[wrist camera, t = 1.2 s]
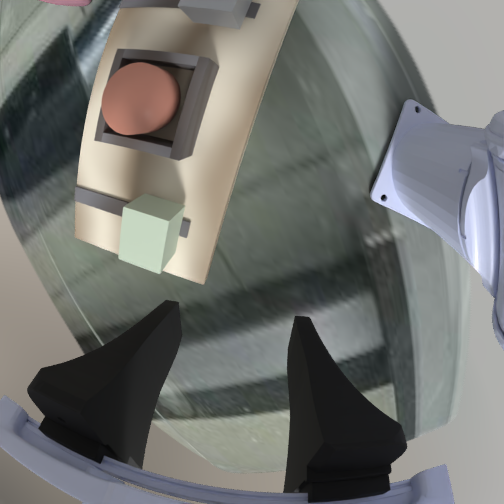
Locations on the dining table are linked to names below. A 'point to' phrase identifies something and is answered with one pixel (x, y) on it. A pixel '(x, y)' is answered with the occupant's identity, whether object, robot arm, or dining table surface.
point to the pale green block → (150, 232)
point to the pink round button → (140, 99)
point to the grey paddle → (216, 11)
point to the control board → (178, 123)
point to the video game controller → (68, 2)
